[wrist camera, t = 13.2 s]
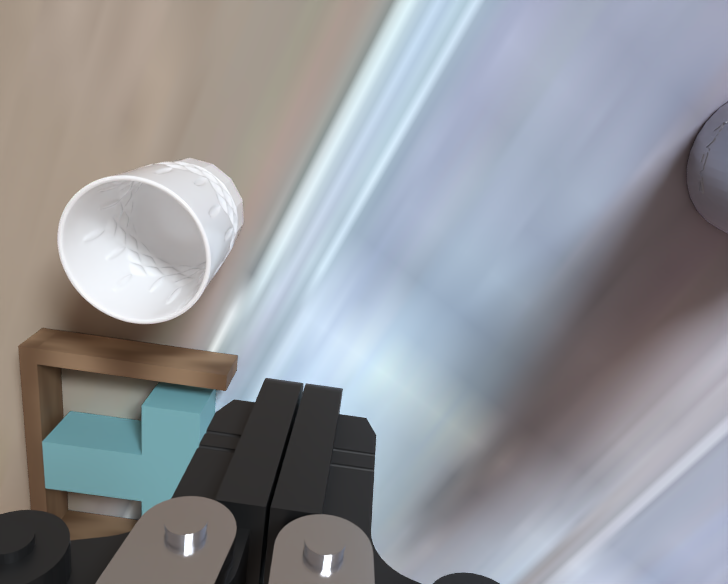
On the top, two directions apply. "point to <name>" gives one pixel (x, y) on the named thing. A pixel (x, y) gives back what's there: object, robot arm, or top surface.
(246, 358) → the top surface
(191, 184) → the white cup
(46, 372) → the walnut dock
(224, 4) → the top surface
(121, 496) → the teal T-block
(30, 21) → the top surface
